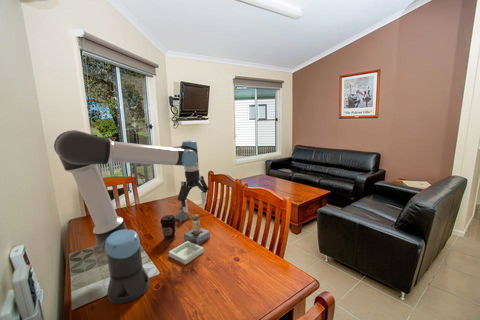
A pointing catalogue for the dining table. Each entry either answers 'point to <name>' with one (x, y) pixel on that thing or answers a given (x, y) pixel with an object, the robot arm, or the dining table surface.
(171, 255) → the tray
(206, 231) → the socket block
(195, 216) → the pin
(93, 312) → the dining table surface
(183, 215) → the figurine
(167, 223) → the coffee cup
